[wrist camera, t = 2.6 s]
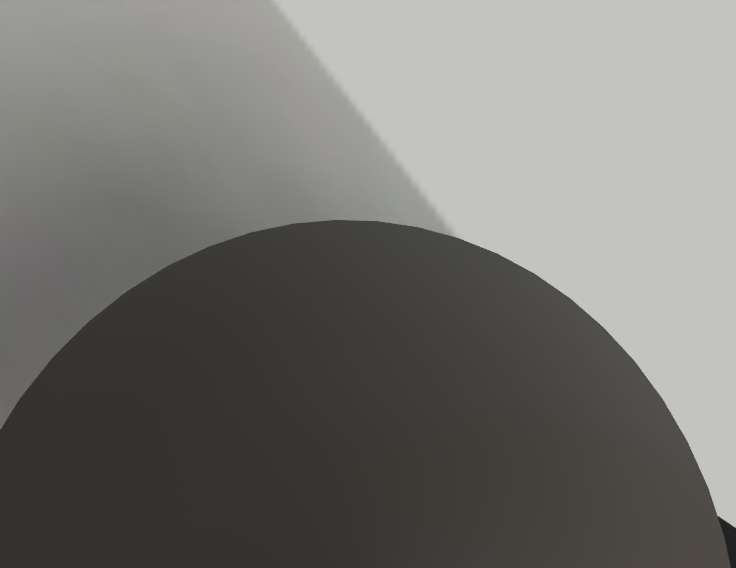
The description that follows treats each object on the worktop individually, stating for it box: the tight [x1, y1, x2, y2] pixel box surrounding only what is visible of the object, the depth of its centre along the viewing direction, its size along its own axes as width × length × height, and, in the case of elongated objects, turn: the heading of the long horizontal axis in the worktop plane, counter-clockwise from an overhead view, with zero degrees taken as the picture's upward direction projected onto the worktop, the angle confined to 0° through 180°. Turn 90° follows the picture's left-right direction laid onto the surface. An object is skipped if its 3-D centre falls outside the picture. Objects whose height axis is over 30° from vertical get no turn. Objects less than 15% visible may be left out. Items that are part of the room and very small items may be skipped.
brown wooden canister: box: [0, 220, 731, 568], centre depth 10 cm, size 6×5×13 cm
